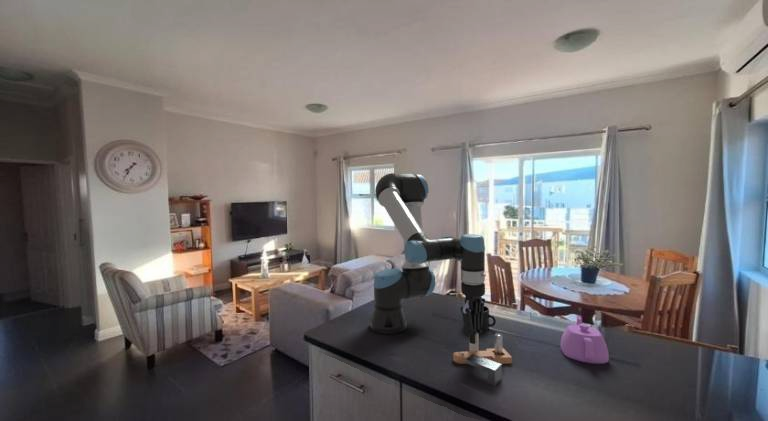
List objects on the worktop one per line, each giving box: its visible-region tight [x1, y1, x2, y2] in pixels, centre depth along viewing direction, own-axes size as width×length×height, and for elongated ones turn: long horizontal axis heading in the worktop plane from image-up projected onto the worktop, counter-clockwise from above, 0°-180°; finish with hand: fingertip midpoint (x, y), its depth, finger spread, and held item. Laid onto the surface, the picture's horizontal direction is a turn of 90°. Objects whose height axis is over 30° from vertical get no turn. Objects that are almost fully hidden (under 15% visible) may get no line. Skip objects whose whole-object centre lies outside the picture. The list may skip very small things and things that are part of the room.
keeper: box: [466, 354, 503, 387], centre depth 92 cm, size 9×4×5 cm, turn 46°
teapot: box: [560, 315, 610, 365], centre depth 105 cm, size 13×20×11 cm
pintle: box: [494, 333, 503, 356], centre depth 102 cm, size 2×2×8 cm
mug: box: [480, 305, 497, 333], centre depth 127 cm, size 9×12×9 cm
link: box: [452, 347, 513, 365], centre depth 102 cm, size 18×6×2 cm, turn 94°
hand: (474, 351), depth 105 cm, fingers closed
